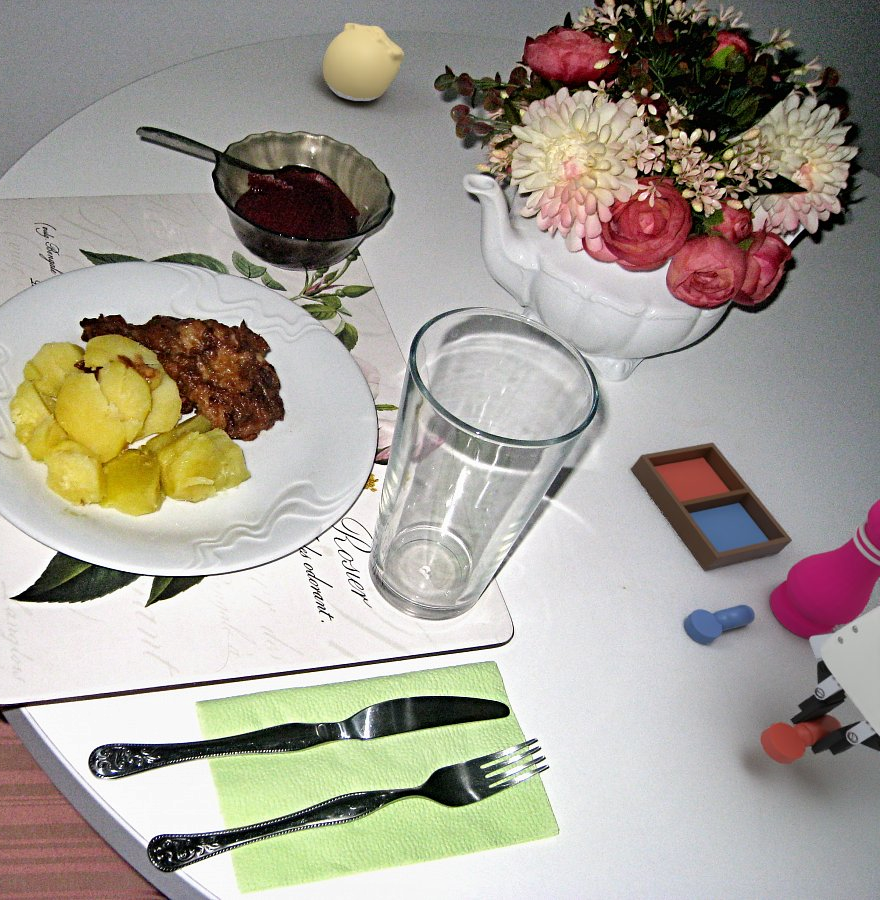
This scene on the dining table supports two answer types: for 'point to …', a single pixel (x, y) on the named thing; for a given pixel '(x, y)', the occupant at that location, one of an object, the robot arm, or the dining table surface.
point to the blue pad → (728, 527)
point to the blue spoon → (716, 622)
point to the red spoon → (795, 737)
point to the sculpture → (361, 61)
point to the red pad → (698, 485)
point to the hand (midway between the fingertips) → (814, 732)
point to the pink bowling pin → (831, 583)
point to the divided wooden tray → (689, 527)
